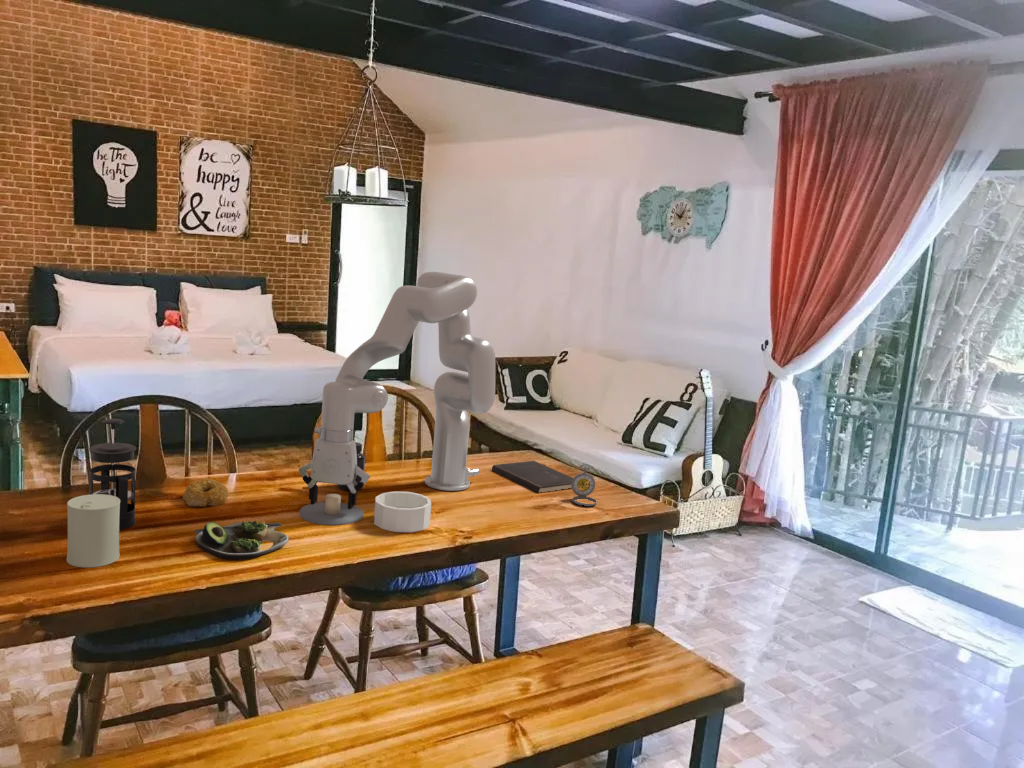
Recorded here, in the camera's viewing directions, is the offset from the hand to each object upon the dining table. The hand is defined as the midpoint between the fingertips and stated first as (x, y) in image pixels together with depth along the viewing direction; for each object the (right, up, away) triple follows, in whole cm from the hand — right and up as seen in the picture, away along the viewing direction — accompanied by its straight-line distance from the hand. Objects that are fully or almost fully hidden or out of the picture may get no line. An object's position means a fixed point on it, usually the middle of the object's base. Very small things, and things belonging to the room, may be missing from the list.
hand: (332, 505), depth 194 cm
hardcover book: (+50, 0, +46) cm, 68 cm away
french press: (-43, -2, -19) cm, 47 cm away
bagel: (-31, 0, +1) cm, 31 cm away
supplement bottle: (0, +1, +21) cm, 21 cm away
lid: (0, -3, 0) cm, 3 cm away
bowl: (+17, -4, -1) cm, 17 cm away
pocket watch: (+63, -4, +29) cm, 69 cm away
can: (-38, -5, -36) cm, 53 cm away
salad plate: (-15, -5, -22) cm, 27 cm away
